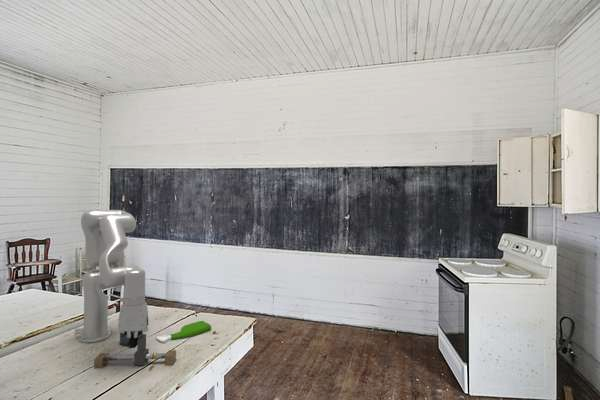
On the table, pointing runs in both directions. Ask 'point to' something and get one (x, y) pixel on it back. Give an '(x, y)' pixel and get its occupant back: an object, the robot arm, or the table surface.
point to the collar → (141, 351)
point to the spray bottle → (187, 331)
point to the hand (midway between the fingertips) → (133, 346)
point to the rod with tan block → (105, 358)
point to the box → (126, 338)
